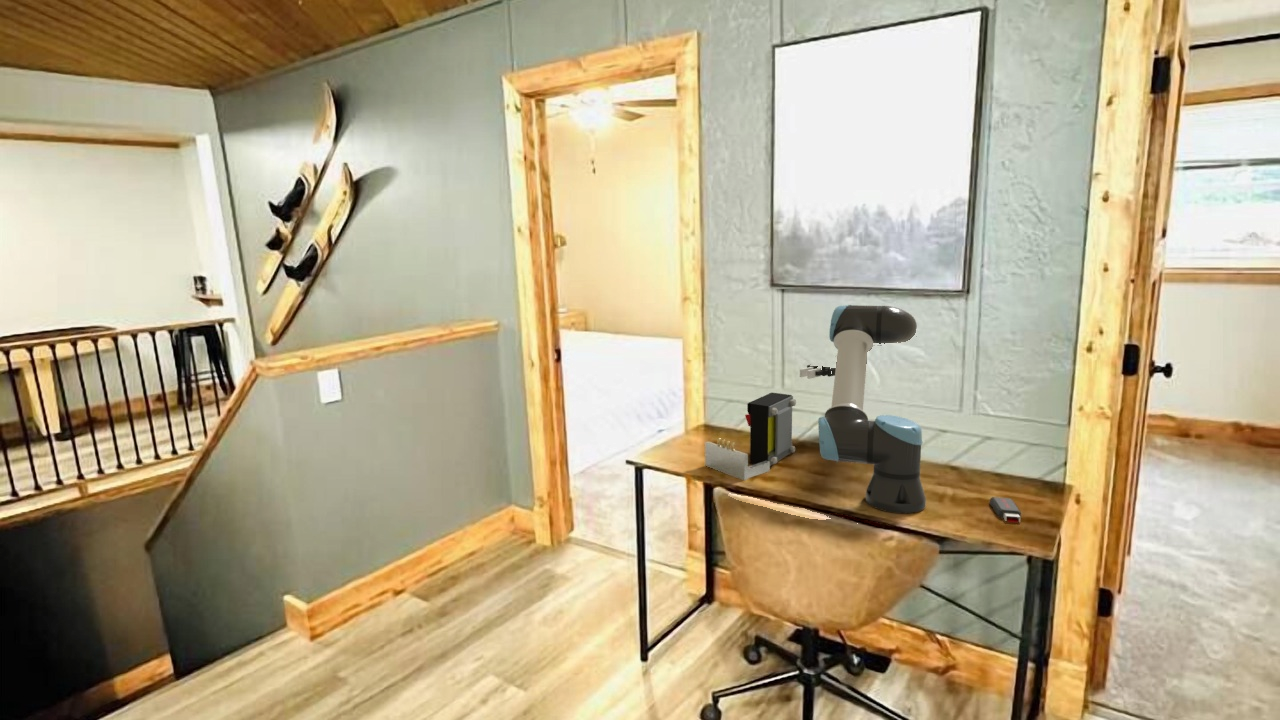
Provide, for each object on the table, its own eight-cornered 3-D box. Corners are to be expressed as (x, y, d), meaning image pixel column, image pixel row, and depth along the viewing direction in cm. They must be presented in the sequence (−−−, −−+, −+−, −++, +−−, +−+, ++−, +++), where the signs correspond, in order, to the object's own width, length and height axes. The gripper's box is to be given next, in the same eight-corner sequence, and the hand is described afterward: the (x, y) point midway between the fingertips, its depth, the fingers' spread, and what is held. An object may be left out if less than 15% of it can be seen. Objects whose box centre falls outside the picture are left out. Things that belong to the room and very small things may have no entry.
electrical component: (773, 468, 206) (774, 406, 203) (744, 462, 212) (745, 402, 209) (796, 453, 220) (797, 395, 216) (769, 448, 226) (769, 392, 222)
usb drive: (1011, 506, 174) (1011, 496, 174) (1024, 524, 163) (1025, 514, 162) (989, 504, 175) (990, 494, 175) (1001, 523, 164) (1001, 512, 164)
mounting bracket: (770, 471, 203) (771, 439, 201) (744, 480, 196) (744, 447, 194) (731, 458, 217) (731, 427, 215) (705, 466, 209) (705, 435, 207)
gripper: (864, 378, 230) (823, 388, 216) (827, 372, 242) (786, 381, 228) (865, 357, 229) (823, 366, 215) (827, 352, 241) (786, 360, 227)
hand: (804, 373), depth 221 cm, fingers open, 3 cm apart
